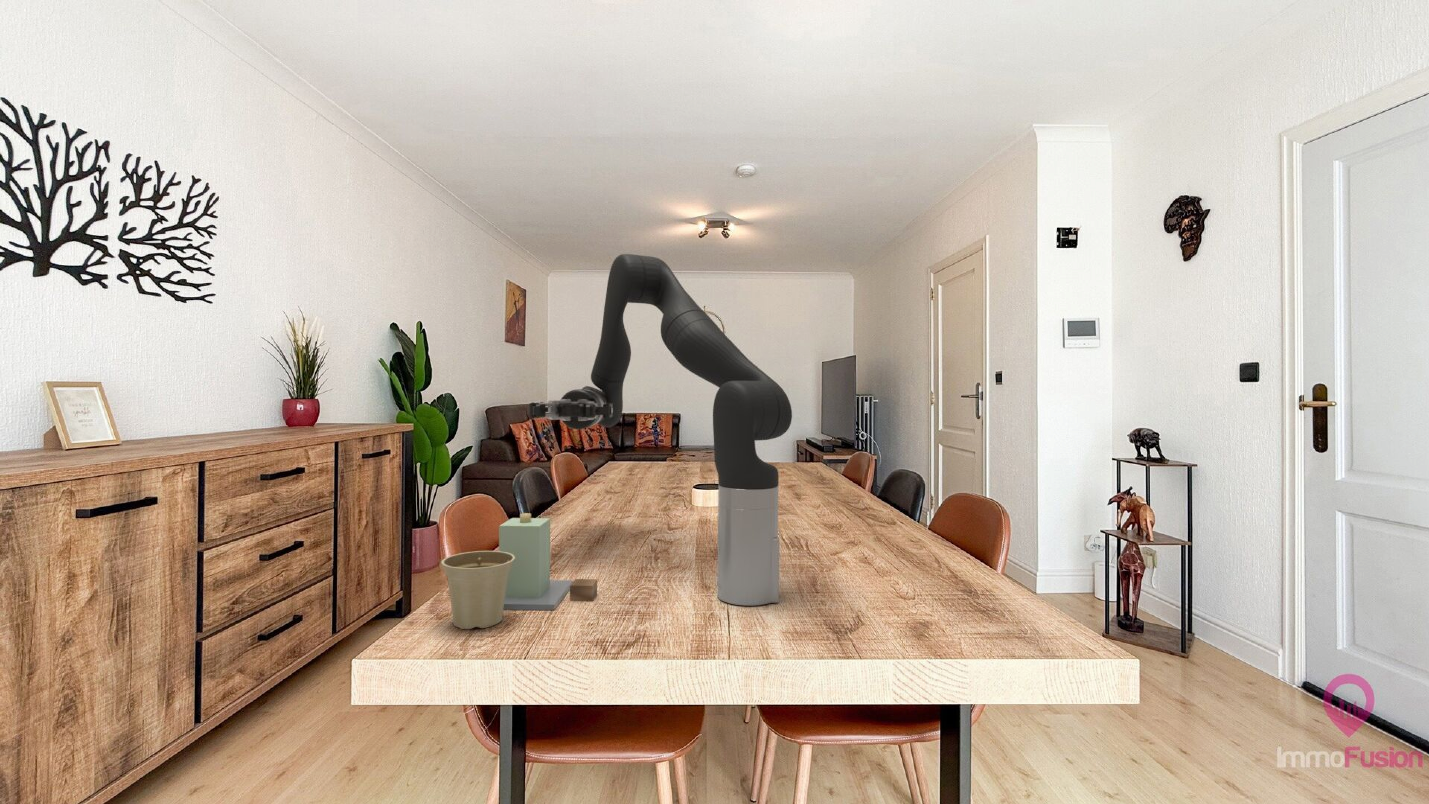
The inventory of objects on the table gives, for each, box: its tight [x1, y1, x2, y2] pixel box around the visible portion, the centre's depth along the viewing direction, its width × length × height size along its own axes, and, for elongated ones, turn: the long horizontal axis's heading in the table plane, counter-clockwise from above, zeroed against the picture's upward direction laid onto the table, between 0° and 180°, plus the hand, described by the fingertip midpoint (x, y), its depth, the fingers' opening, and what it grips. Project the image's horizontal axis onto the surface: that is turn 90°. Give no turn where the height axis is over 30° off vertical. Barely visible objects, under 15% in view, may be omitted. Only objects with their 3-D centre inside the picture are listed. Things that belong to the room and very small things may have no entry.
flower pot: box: [440, 550, 515, 630], centre depth 88 cm, size 9×9×9 cm
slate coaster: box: [503, 579, 574, 611], centre depth 99 cm, size 12×12×1 cm
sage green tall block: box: [498, 512, 551, 598], centre depth 99 cm, size 6×6×12 cm
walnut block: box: [569, 578, 598, 602], centre depth 99 cm, size 3×3×2 cm
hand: (562, 411), depth 110 cm, fingers open, 8 cm apart
